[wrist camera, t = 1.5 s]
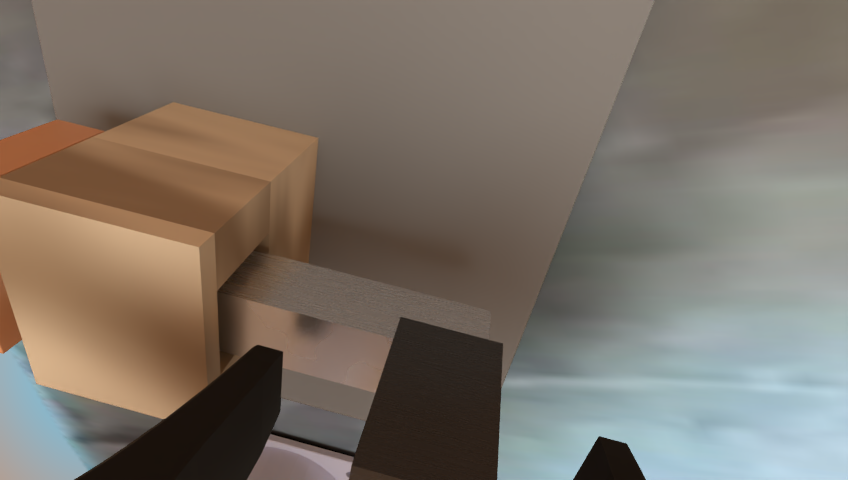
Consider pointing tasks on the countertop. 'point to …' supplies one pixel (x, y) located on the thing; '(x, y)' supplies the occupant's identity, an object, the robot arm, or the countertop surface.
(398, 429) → the shaft
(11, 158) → the spacer
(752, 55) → the countertop surface
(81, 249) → the bearing block
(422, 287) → the mounting plate
